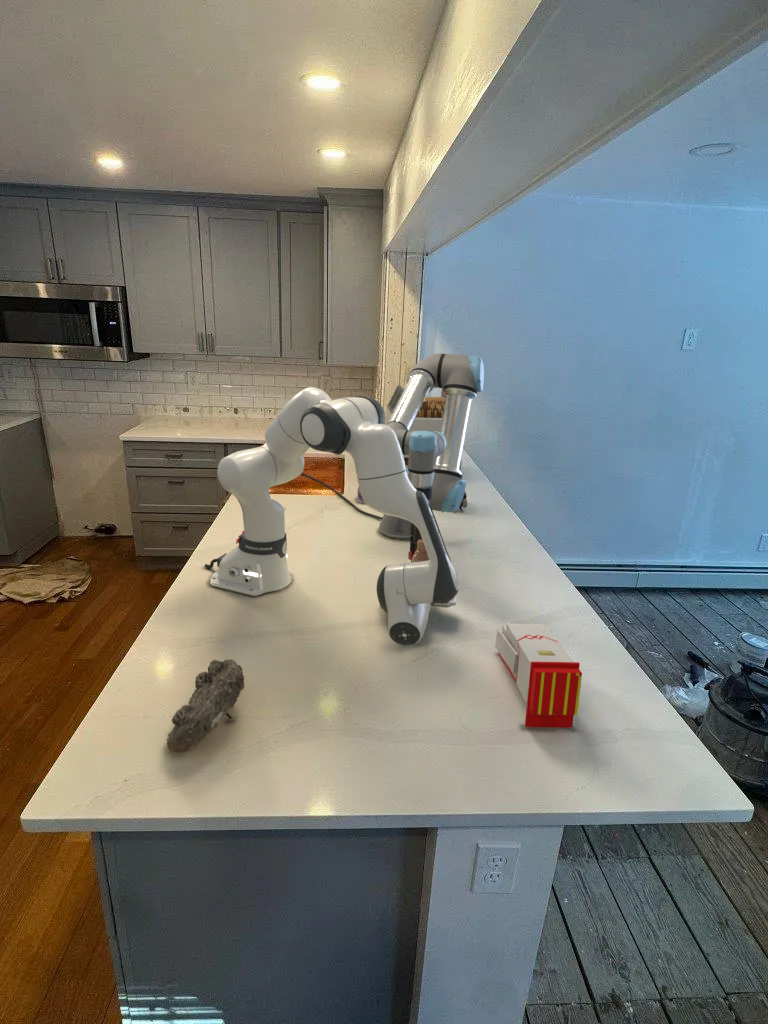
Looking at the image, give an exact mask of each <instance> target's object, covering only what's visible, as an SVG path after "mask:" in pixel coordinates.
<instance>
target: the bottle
mask: <svg viewBox="0 0 768 1024" xmlns="http://www.w3.org/2000/svg"><path fill="white" fill-rule="evenodd" d="M417 544H418V545H417V549H416V551H415V553H414V555H413V557H412V562H421V561H428V560H429V556H428V553H427V550H426V548H425V545H424V542H423V539H420V540H418V541H417Z"/></svg>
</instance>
